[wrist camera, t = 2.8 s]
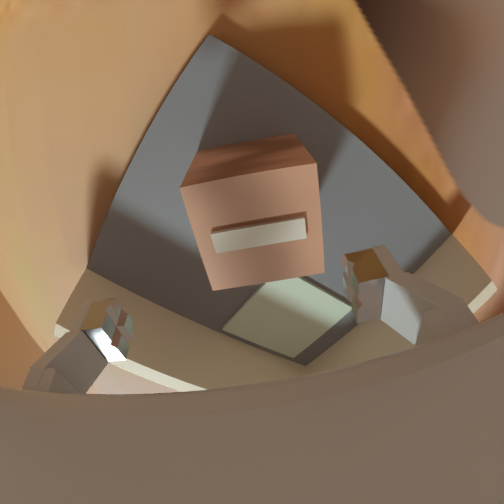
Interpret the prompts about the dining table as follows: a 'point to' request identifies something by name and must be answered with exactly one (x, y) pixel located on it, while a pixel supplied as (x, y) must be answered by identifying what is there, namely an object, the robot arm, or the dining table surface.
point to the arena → (265, 294)
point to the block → (255, 211)
